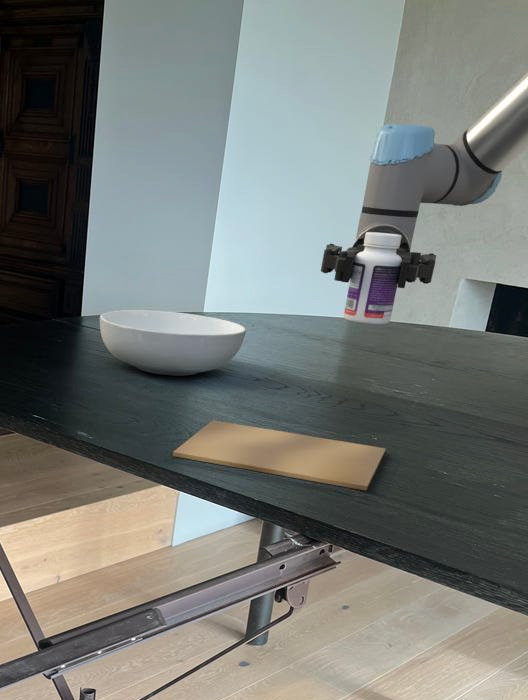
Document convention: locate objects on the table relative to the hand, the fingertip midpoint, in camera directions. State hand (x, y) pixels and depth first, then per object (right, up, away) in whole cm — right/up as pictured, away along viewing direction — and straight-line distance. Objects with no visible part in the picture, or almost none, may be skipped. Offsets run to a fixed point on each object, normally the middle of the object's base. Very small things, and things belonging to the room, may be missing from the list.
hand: (375, 272), depth 111 cm
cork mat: (-11, -21, -3) cm, 24 cm away
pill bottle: (+1, -3, +7) cm, 8 cm away
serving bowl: (-19, -2, +34) cm, 39 cm away
